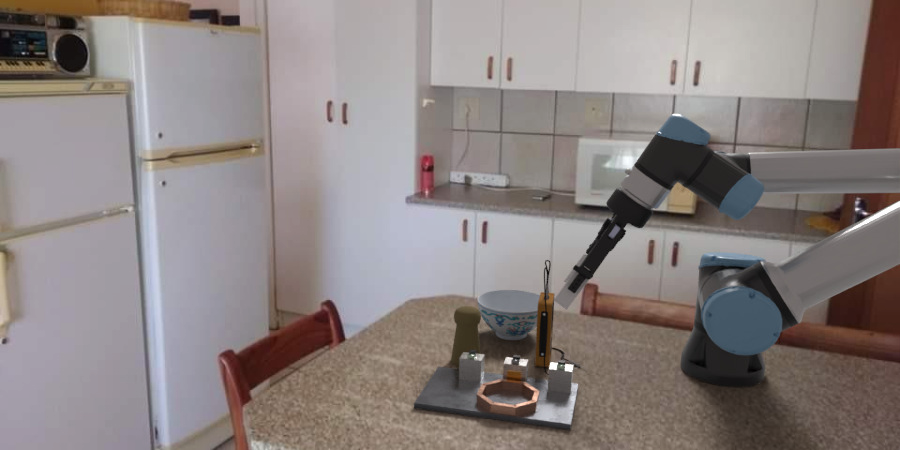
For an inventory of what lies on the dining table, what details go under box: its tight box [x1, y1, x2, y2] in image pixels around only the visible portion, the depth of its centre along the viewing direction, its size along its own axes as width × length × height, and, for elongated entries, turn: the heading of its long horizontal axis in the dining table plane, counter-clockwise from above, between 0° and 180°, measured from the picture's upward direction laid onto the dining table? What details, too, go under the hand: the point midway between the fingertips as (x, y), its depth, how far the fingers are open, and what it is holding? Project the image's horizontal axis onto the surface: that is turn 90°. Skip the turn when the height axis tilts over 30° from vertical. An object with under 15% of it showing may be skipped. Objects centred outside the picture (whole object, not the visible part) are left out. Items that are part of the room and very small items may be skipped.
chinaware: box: [476, 289, 540, 341], centre depth 154 cm, size 15×15×8 cm
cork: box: [450, 305, 482, 368], centre depth 139 cm, size 6×6×11 cm
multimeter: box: [534, 259, 588, 376], centre depth 138 cm, size 15×10×20 cm
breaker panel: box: [413, 350, 579, 431], centre depth 124 cm, size 26×16×6 cm, turn 76°
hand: (565, 294), depth 129 cm, fingers open, 13 cm apart
